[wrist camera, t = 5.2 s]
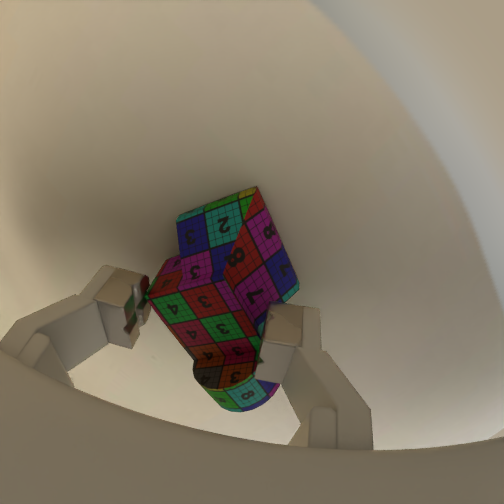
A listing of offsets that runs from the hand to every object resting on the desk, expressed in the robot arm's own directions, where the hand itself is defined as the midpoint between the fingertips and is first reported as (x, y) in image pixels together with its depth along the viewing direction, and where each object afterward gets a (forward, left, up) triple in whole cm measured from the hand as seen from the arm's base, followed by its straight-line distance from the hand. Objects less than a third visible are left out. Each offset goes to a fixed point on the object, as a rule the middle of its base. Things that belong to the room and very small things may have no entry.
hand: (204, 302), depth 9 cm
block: (-1, 0, -2) cm, 2 cm away
